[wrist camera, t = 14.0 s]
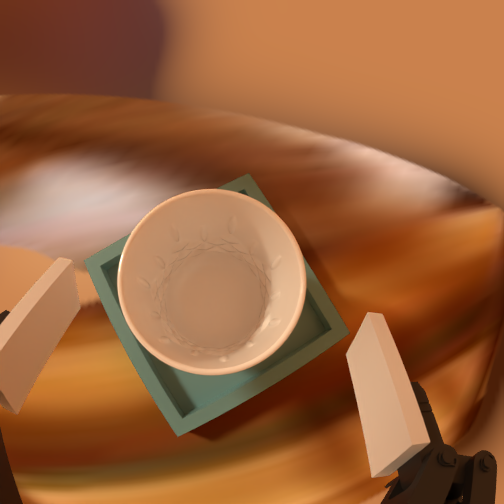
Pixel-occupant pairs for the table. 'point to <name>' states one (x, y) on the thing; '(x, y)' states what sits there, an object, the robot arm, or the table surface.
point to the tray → (217, 386)
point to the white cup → (211, 282)
